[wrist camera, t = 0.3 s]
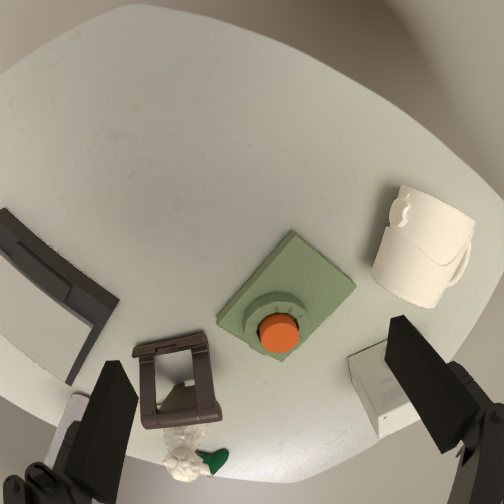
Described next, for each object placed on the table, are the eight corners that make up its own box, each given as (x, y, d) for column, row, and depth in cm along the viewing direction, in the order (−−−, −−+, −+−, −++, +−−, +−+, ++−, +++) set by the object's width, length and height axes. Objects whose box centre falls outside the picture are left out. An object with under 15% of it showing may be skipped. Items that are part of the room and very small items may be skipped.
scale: (4, 207, 24) (-13, 215, 21) (119, 299, 30) (110, 315, 27) (-17, 300, 28) (-29, 311, 25) (76, 374, 33) (68, 390, 30)
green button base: (291, 229, 28) (300, 241, 25) (351, 279, 31) (364, 294, 28) (216, 315, 31) (215, 335, 28) (279, 353, 34) (284, 372, 30)
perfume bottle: (70, 382, 34) (23, 492, 15) (105, 399, 35) (70, 515, 17) (67, 401, 35) (28, 502, 17) (99, 417, 37) (69, 521, 18)
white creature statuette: (142, 412, 36) (128, 480, 25) (161, 379, 34) (147, 457, 23) (201, 432, 39) (199, 498, 28) (227, 403, 36) (230, 478, 25)
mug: (352, 262, 30) (387, 298, 23) (385, 179, 27) (432, 194, 20) (427, 285, 32) (464, 317, 25) (456, 217, 29) (501, 238, 22)
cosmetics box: (352, 385, 37) (378, 441, 28) (346, 356, 35) (376, 416, 25) (415, 356, 37) (450, 403, 27) (415, 324, 35) (457, 373, 25)
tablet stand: (204, 328, 32) (200, 382, 24) (226, 376, 34) (228, 429, 27) (135, 343, 32) (116, 394, 24) (162, 388, 35) (153, 438, 27)
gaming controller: (173, 433, 41) (164, 462, 38) (176, 439, 38) (167, 470, 35) (224, 446, 43) (215, 474, 41) (231, 452, 40) (221, 482, 37)
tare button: (275, 306, 28) (278, 316, 26) (302, 324, 29) (306, 334, 27) (251, 331, 28) (253, 342, 27) (278, 347, 30) (281, 358, 28)
